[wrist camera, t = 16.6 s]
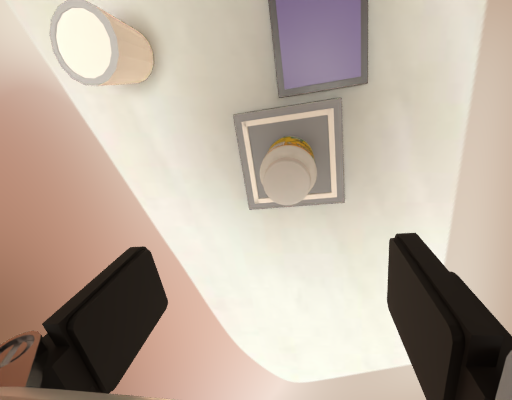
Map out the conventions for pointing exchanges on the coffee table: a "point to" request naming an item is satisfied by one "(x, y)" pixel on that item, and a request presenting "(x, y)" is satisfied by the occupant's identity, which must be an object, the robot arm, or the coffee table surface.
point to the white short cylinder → (98, 46)
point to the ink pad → (319, 44)
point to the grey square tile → (302, 126)
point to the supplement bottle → (288, 170)
